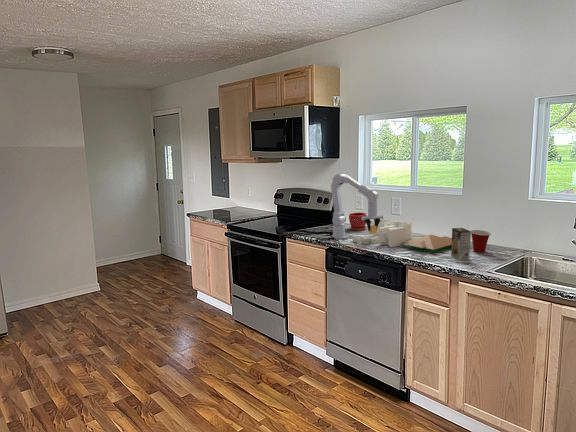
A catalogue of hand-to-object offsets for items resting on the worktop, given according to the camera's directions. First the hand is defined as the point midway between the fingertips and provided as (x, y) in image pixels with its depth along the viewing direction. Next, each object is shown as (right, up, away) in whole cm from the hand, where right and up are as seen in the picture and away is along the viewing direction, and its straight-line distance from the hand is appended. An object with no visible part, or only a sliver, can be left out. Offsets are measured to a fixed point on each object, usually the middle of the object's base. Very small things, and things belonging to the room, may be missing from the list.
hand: (372, 230), depth 276 cm
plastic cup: (+56, -12, -33) cm, 66 cm away
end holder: (0, -7, 0) cm, 7 cm away
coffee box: (+40, -14, -44) cm, 61 cm away
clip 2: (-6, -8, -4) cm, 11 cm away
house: (+32, -10, -18) cm, 38 cm away
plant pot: (-3, -1, +40) cm, 40 cm away
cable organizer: (+10, -9, -11) cm, 18 cm away
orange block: (0, -2, 0) cm, 2 cm away
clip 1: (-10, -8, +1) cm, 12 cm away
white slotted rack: (+15, -6, +10) cm, 19 cm away
